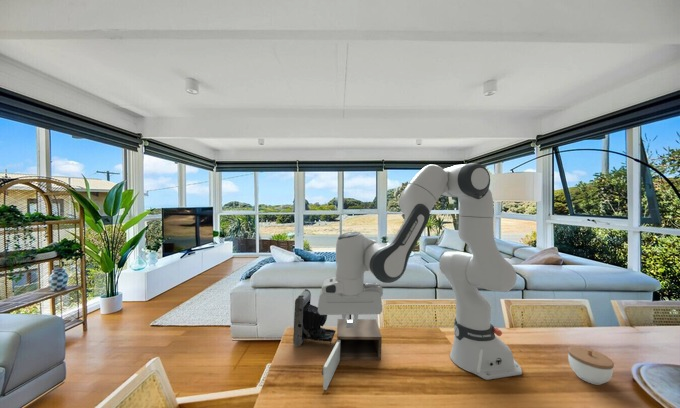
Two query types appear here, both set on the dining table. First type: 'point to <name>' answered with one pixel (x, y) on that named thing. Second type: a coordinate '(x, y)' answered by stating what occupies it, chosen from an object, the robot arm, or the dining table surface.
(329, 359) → the door
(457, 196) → the robot arm
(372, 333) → the case
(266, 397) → the dining table surface
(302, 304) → the vintage camera
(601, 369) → the lidded jar
